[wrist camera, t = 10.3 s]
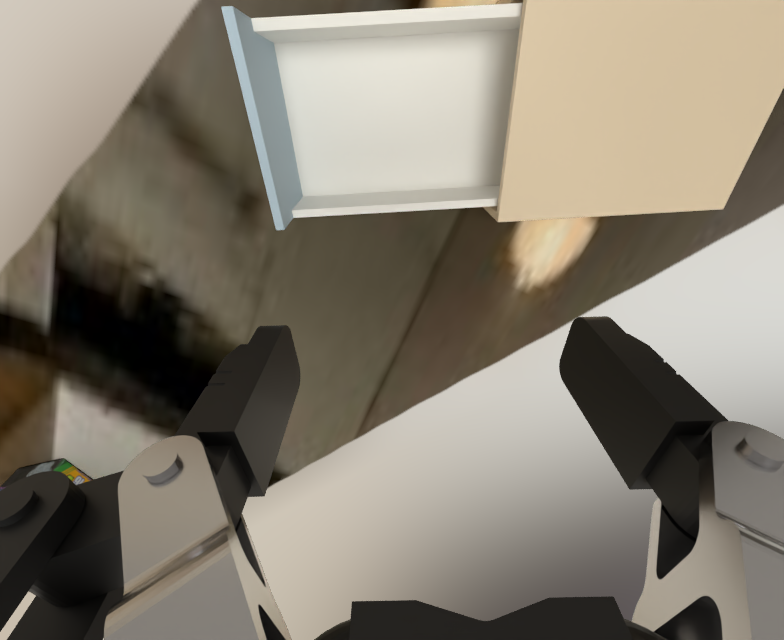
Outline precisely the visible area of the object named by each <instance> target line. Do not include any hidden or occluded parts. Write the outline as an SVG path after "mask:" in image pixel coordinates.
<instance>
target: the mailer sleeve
mask: <svg viewBox="0 0 784 640" xmlns="http://www.w3.org/2000/svg"><path fill="white" fill-rule="evenodd" d="M511 3H523V7H522V15H521V23H520V31H519V39H518V47H517V55H516V63H515V70H514V78H513V86H512V94H511V102H510V110H509V118H508V126H507V134H506V142H505V150H504V158H503V166H502V174H501V182H500V190H499V198H498V206H489V207H483V208H484V209H485V210H486V211H487V212H488V213H489V214H490V215H491V216H492V217H493V218H494V219H495V220H496V221H497V222H511V221H528V220H545V219H562V218H580V217H597V216H614V215H631V214H649V213H666V212H683V211H701V210H718V209H723V208H724V206H725V204H726V202H727V200H728V198H729V196H730V194H731V192H732V190H733V188H734V186H735V184H736V182H737V180H738V178H739V176H740V174H741V172H742V170H743V168H744V166H745V164H746V162H747V160H748V158H749V156H750V154H751V152H752V150H753V148H754V146H755V144H756V142H757V140H758V138H759V136H760V134H761V132H762V130H763V128H764V126H765V124H766V122H767V120H768V118H769V116H770V114H771V112H772V110H773V108H774V106H775V104H776V102H777V100H778V98H779V96H780V94H781V92H782V90H783V88H784V0H499V1H498V2H497V3H496V4H511Z"/></svg>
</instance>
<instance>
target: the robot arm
mask: <svg viewBox="0 0 784 640" xmlns="http://www.w3.org/2000/svg"><path fill="white" fill-rule="evenodd" d="M559 367H560V375H561V378H562V380H563V382H564V384H565V385H566V387H567V389H568V390H569V392H570V394H571V395H572V397H573V399H574V400H575V401H576V403H577V405H578V407H579V408H580V410H581V411H582V413H583V415H584V416H585V418H586V420H587V421H588V423H589V424H590V426H591V428H592V429H593V431H594V432H595V434H596V436H597V437H598V439H599V441H600V442H601V444H602V445H603V447H604V449H605V450H606V452H607V453H608V455H609V457H610V458H611V460H612V462H613V463H614V465H615V467H616V468H617V470H618V471H619V473H620V475H621V476H622V478H623V479H624V481H625V482H626V484H627V486H628V488H629V489H653V490H654V492H655V493H656V495H657V496H658V498H657V499H656V501H655V502H654V504H653V509H652V519H651V529H650V541H649V550H648V561H647V571H646V580H645V585H644V589H643V592H642V595H641V597H640V599H639V601H638V603H637V606H636V608H635V611H634V615H633V619H632V622H631V621H629V620H626V619H624V618H623V616H622V614H621V612H620V610H619V607H618V605H617V603H616V601H615V599H614V597H565V598H547V599H545V600H542V601H540V602H537V603H535V604H532V605H530V606H527V607H524V608H522V609H519V610H517V611H514V612H512V613H509V614H507V615H504V616H502V617H500V618H497V619H495V620H491V621H480V620H477V619H474V618H470V617H467V616H464V615H461V614H458V613H454V612H451V611H448V610H445V609H442V608H438V607H435V606H432V605H429V604H426V603H423V602H419V601H416V600H409V601H356V602H352V609H351V619H350V620H348V621H345V622H342V623H340V624H338V625H336V626H334V627H333V628H331V629H329V630H327V631H325V632H324V633H323V634H321V635H320V636H319V637H317V638H316V639H314V640H784V439H782V438H780V437H779V436H777V435H775V434H773V433H771V432H769V431H767V430H764V429H762V428H759V427H756V426H753V425H750V424H746V423H741V422H735V421H728V420H727V419H726V418H725V417H724V416H723V415H722V414H721V413H720V412H719V411H717V409H715V408H714V407H713V406H712V405H711V404H710V403H709V402H708V401H707V400H706V399H705V398H704V397H703V396H702V395H700V393H698V392H697V391H696V390H695V389H694V388H693V387H692V386H691V385H690V384H689V383H688V382H687V381H686V380H685V379H684V378H683V377H682V376H680V375H677V374H676V371H675V370H674V369H673V368H672V367H671V366H670V365H669V364H668V363H667V362H666V363H664V361H663V358H661V357H660V356H659V355H658V354H657V353H656V352H655V351H654V350H653V349H652V348H651V347H650V346H648V345H647V344H645V343H643V342H642V341H640V340H638V339H637V338H635V337H633V336H631V335H630V334H626V333H625V332H624V331H623V330H622V329H621V328H620V327H619V326H618V325H617V324H616V323H615V322H614V321H613V320H612V319H611V318H609V317H578V318H576V319H575V320H574V321H573V323H572V325H571V328H570V331H569V334H568V337H567V340H566V344H565V346H564V349H563V352H562V356H561V359H560V366H559ZM299 384H300V367H299V363H298V359H297V355H296V351H295V347H294V343H293V339H292V335H291V331H290V329H289V327H288V326H287V325H282V326H260V327H258V328H257V330H256V331H255V333H254V335H253V336H252V338H251V340H250V342H249V343H248V344H241V345H239V346H238V347H237V348H236V349H234V350H233V351H232V352H231V353H229V354H228V355H227V356H226V357H225V358H224V360H223V361H222V363H221V364H220V366H219V367H218V369H217V371H216V374H214V375H213V377H212V378H211V380H210V381H209V383H208V387H206V388H205V389H204V391H203V392H202V394H201V395H200V397H199V399H198V400H197V402H196V403H195V405H194V406H193V408H192V409H191V411H190V413H189V414H188V416H187V417H186V419H185V420H184V422H183V423H182V425H181V427H180V428H179V430H178V431H177V433H176V434H175V436H174V437H170V438H166V439H164V440H161V441H159V442H157V443H155V444H153V445H151V446H150V447H148V448H146V449H145V450H144V451H142V452H141V453H140V454H138V455H137V456H136V457H135V458H134V459H133V460H132V461H131V462H130V463H129V465H128V466H127V467H126V469H125V470H124V471H121V472H118V473H115V474H111V475H108V476H105V477H101V478H98V479H94V480H91V481H88V482H84V483H81V484H78V485H76V484H75V483H74V482H73V481H71V480H70V479H69V478H68V477H67V476H66V475H65V474H64V473H62V472H59V471H45V472H40V473H36V474H33V475H30V476H28V477H25V478H23V479H21V480H18V481H16V482H14V483H13V484H11V485H9V486H7V487H6V488H4V489H2V490H1V491H0V631H1V630H2V628H3V627H4V626H5V624H6V623H7V621H8V620H9V618H10V617H11V615H12V614H13V613H14V611H15V610H16V608H17V607H18V605H19V604H20V602H21V601H22V599H23V598H24V596H25V595H26V594H27V592H28V591H29V592H31V593H33V594H34V595H36V597H35V598H34V600H33V601H32V603H31V605H30V606H29V607H28V609H27V610H26V612H25V614H24V615H23V617H22V618H21V619H20V621H19V622H18V624H17V625H16V627H15V629H14V630H13V631H12V633H11V635H10V636H9V637H8V639H7V640H103V638H104V640H292V639H291V637H290V634H289V631H288V629H287V626H286V624H285V622H284V619H283V617H282V614H281V612H280V610H279V608H278V606H277V604H276V602H275V599H274V597H273V595H272V592H271V590H270V587H269V585H268V582H267V579H266V577H265V574H264V571H263V569H262V566H261V563H260V561H259V558H258V555H257V552H256V550H255V547H254V544H253V542H252V539H251V536H250V534H249V531H248V528H247V525H246V523H245V520H244V518H243V515H242V510H243V508H244V505H245V502H246V500H247V497H255V496H256V497H257V496H265V493H266V490H267V487H268V484H269V480H270V477H271V474H272V471H273V468H274V465H275V461H276V458H277V455H278V452H279V449H280V446H281V442H282V439H283V436H284V433H285V430H286V427H287V424H288V420H289V417H290V414H291V411H292V408H293V405H294V401H295V398H296V395H297V392H298V389H299Z"/></svg>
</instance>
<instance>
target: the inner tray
mask: <svg viewBox="0 0 784 640" xmlns="http://www.w3.org/2000/svg"><path fill="white" fill-rule="evenodd" d="M522 7H523V3H511V4H493V5H476V6H459V7H441V8H424V9H406V10H389V11H372V12H354V13H337V14H319V15H302V16H285V17H267V18H250V17H248V16H247V15H245V14H244V13H242V12H241V11H239V10H238V9H236V8H235V7H233V6H226V7H221V8H222V12H223V16H224V20H225V24H226V28H227V32H228V36H229V41H230V45H231V49H232V53H233V57H234V61H235V65H236V69H237V73H238V77H239V81H240V85H241V89H242V93H243V97H244V101H245V106H246V110H247V114H248V118H249V122H250V126H251V130H252V134H253V138H254V142H255V146H256V150H257V154H258V158H259V162H260V166H261V171H262V175H263V179H264V183H265V187H266V191H267V195H268V199H269V203H270V207H271V211H272V215H273V219H274V223H275V227H276V230H285V228H286V227H287V226H288V224H289V223H290V222H291V220H292V219H293V218H299V217H317V216H334V215H351V214H369V213H386V212H403V211H420V210H438V209H455V208H472V207H489V206H498V198H499V190H500V182H501V174H502V166H503V158H504V150H505V142H506V134H507V126H508V118H509V110H510V102H511V94H512V86H513V78H514V70H515V63H516V55H517V47H518V39H519V31H520V23H521V15H522Z"/></svg>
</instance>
